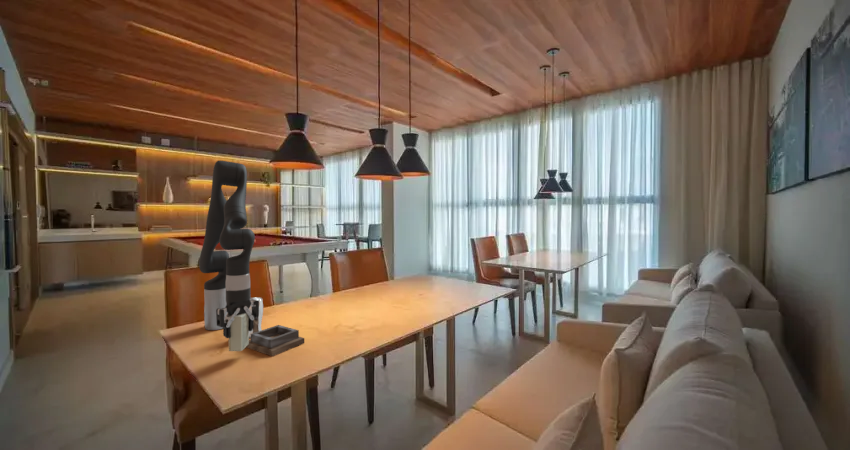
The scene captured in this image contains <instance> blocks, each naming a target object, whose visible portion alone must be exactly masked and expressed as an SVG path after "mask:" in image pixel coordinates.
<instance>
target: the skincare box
mask: <svg viewBox="0 0 850 450" xmlns="http://www.w3.org/2000/svg"><path fill="white" fill-rule="evenodd" d="M230 317H231V316H229V318H230ZM233 318H234V321H232V323H231V325H230V333H231V337H230V338H228V352H242V351H243V350H245V348H247V347H246V346H247V345H248V344H249V340H250V338H249V317H248V316H247V313H244V314H240V315H236V316H235V317H233Z"/></svg>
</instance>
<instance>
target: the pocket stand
mask: <svg viewBox="0 0 850 450" xmlns="http://www.w3.org/2000/svg"><path fill="white" fill-rule="evenodd" d="M299 333H300V332H299V329H296V328H291V327H289V326H284V325H279V324H276V325H274V326H271V327H267V328H265V329H262V330H261V331H258V332H255V333H252V334H251V338H250V339H249V344H248V345H247V346H246V347H245V348H246V349H250V350H252V351H255V352H258V353H262V354H265V355H268V356H270V357H274V356H276V355H279V354H282V353H285V352H288V351H289V350H291V349H294V348H297V347H298V346H301V345H303V344H305V337H301V336H300V335H299Z"/></svg>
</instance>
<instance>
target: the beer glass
mask: <svg viewBox="0 0 850 450" xmlns="http://www.w3.org/2000/svg"><path fill="white" fill-rule="evenodd" d="M252 300H257V301H259V316H258V317H256V318H254V320H253V323H254V325H253V326H254V327H253V329H252V331H249V339H251V334H252V333H255V332H258V331H261V330H263V329H262V320H263V315H264V303H263V301H264V300H263V298H262V296H261V297H257V296H256V297H251V298H250V301H252ZM249 311H250V312H251V313H252V306H250V308H249Z"/></svg>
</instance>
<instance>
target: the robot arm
mask: <svg viewBox="0 0 850 450" xmlns="http://www.w3.org/2000/svg"><path fill="white" fill-rule="evenodd" d="M212 171H213V172H212V180H211V182H212V183H211V193H210V194H211V196H210V201H209V207H208V210H207V211H208V212H207V215H206V225H205V232H204V239H203V244H202V247H201V252H200V254H199V260H198V261H199V262H198V268H199V271H200V272H201V273H203V274H213V273H214V274H215V273H217V274H216V275H215V276H214V277H211V279H208V280H206V281H205V282H204V283H203V287H204V288H203V290H204V291H203V293H204V294H203V295H204V298H203V299H204V305H203V310H204V311H203V317H204V329H205V330H207V331H216V330H217V331H218V330H223V331H222V334H223V335H222V336H223V337H225V339H229V338H230V337H231V333H230V325H231V323H232V321H234V318H233V317H235V316H236V315H240V314H244V313H247V316H248V317H249V331H252V329H253V327H254V326H253V325H254V323H253V320H254V318H256V317H258V316H259V301H257V300H252V301H250V298H252V297H251V296H252V295H251V292H252V291H251V290H252V289H251V273H250V261H251V260H250V259H251V253H252V250H253V248H254V244H255V240H256V235H255V232H254V231H253V230H252V229H250V228H245V227H246V226H247V224H248V218H247V209H246V207H247V205H246V204H247V203H246V200H247V186H248V185H247V182H248V171H247V168H246V166H245V165H244V164H242V163H239V162H233V161H226V160H217V161H216V162H215V163H214V165H213V170H212ZM223 186H228V187H234V188H235V187H236V190H235V191H234V192H233V193H232V194H231V195H230V197H228V199H226V197H225V195H224V193H223V192H224V191H223V188H222V187H223ZM218 245H220V247H221V248H222V249H223V250H215V249H216V247H217V246H218ZM237 250H242V252H240V254H238V255H233V256H231V257H230V254H229V252H228V251H237ZM250 306H252V313H251V312H250V311H249V308H250ZM229 316H231V317H230V318H229Z"/></svg>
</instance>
